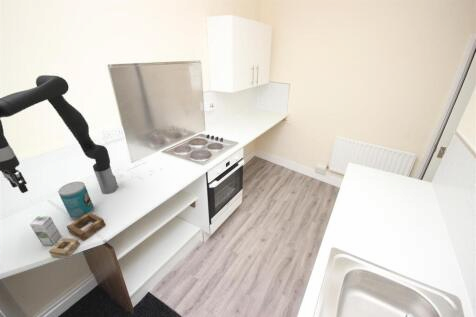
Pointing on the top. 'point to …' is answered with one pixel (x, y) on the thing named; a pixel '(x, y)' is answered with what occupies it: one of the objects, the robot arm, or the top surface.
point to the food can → (76, 199)
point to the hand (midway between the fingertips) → (20, 189)
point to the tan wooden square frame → (59, 247)
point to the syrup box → (45, 230)
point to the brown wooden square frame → (79, 223)
